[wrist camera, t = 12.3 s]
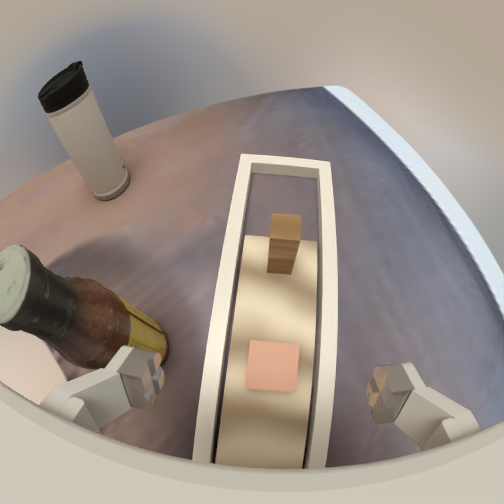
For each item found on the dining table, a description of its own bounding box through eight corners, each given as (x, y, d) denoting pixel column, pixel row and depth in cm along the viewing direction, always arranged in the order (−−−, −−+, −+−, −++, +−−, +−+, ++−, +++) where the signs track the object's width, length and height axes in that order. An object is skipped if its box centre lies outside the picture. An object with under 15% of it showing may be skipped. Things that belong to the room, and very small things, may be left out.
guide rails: (318, 472, 20) (323, 478, 18) (195, 462, 21) (191, 467, 19) (327, 171, 37) (329, 162, 35) (241, 164, 38) (241, 153, 36)
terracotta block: (289, 391, 23) (295, 392, 19) (246, 387, 23) (244, 387, 20) (293, 350, 25) (299, 343, 21) (251, 346, 25) (250, 339, 21)
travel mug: (138, 171, 38) (93, 57, 20) (115, 205, 35) (51, 88, 17) (110, 166, 39) (63, 64, 21) (87, 197, 36) (26, 95, 18)
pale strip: (297, 481, 19) (312, 513, 12) (215, 475, 20) (199, 505, 12) (315, 246, 31) (331, 203, 24) (245, 240, 32) (242, 194, 24)
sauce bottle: (112, 330, 27) (-23, 242, 9) (160, 311, 28) (47, 194, 11) (129, 385, 24) (-28, 352, 7) (181, 368, 25) (48, 318, 8)
